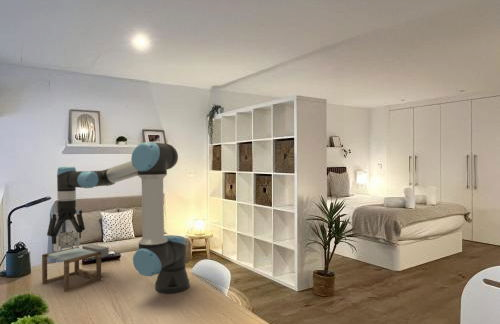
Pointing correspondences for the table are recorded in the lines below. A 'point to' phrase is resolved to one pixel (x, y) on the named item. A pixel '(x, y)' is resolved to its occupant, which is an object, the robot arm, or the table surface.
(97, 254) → the frame
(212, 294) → the table surface
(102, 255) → the chair seat
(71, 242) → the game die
